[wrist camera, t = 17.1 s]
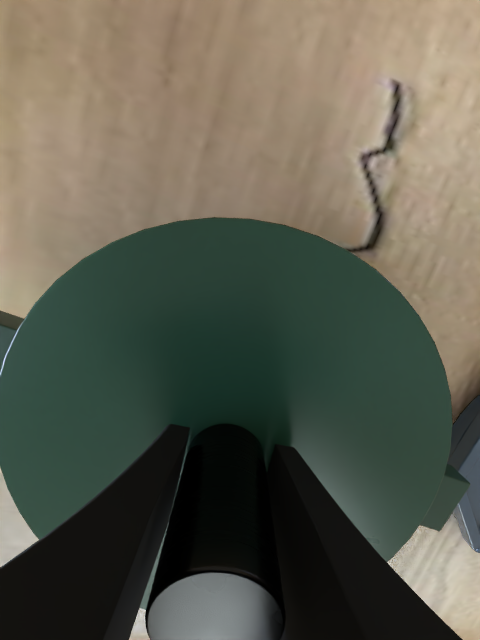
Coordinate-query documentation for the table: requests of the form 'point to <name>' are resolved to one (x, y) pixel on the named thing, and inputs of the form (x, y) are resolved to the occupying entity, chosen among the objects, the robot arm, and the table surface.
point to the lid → (225, 403)
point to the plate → (468, 471)
